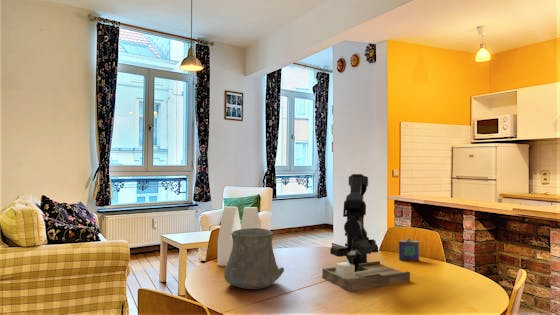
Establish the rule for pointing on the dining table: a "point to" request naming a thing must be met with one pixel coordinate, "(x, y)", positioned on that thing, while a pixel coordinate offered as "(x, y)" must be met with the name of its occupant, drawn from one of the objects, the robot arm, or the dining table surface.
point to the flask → (408, 250)
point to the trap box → (367, 277)
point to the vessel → (252, 259)
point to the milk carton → (234, 229)
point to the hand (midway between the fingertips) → (354, 271)
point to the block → (345, 270)
